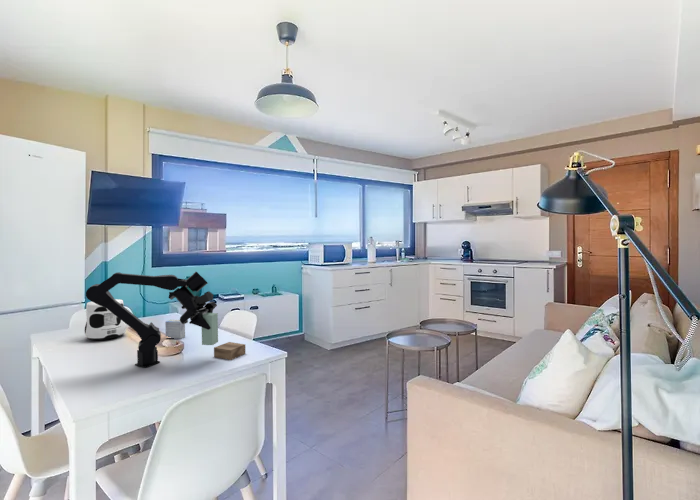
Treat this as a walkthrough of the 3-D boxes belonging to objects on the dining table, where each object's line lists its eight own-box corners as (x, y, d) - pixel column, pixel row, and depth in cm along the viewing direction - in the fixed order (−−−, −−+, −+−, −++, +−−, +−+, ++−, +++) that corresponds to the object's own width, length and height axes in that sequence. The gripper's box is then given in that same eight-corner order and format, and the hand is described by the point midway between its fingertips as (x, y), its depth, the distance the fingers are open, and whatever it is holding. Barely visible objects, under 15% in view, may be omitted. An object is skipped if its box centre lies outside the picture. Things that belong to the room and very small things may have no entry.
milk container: (101, 332, 194) (100, 298, 193) (133, 333, 193) (133, 298, 192) (75, 342, 177) (74, 304, 176) (111, 342, 176) (110, 305, 175)
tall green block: (212, 345, 148) (211, 315, 147) (201, 344, 148) (201, 315, 148) (218, 342, 152) (217, 313, 152) (208, 341, 153) (207, 312, 152)
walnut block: (230, 359, 151) (230, 350, 151) (214, 356, 155) (213, 347, 155) (245, 353, 160) (245, 344, 159) (229, 350, 163) (229, 341, 163)
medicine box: (185, 336, 186) (185, 319, 186) (180, 339, 182) (180, 321, 182) (170, 336, 187) (170, 319, 187) (165, 338, 183) (165, 321, 182)
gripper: (186, 289, 141) (213, 319, 139) (212, 283, 159) (236, 309, 158) (168, 309, 142) (194, 338, 141) (195, 300, 161) (219, 326, 159)
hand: (213, 327), depth 150 cm, fingers closed on tall green block, 4 cm apart
